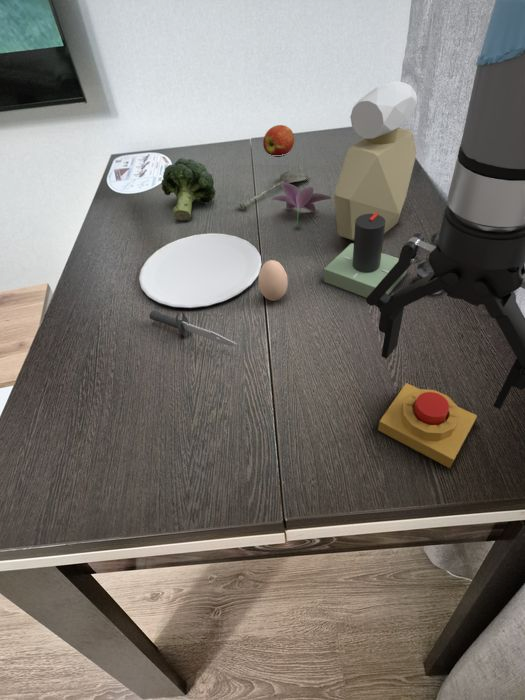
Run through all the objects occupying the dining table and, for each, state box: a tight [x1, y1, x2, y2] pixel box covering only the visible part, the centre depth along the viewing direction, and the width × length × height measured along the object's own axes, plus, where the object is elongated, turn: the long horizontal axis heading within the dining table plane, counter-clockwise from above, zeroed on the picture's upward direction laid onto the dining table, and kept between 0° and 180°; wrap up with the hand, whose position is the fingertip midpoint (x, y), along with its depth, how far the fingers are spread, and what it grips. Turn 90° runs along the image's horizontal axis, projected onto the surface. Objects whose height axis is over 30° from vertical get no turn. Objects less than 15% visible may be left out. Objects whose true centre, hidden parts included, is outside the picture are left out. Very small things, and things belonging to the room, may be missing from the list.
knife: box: [148, 310, 239, 346], centre depth 74 cm, size 19×2×5 cm, turn 58°
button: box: [414, 392, 449, 425], centre depth 56 cm, size 4×4×2 cm
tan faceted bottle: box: [333, 80, 418, 242], centre depth 84 cm, size 12×24×28 cm, turn 137°
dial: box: [352, 213, 385, 273], centre depth 78 cm, size 5×5×9 cm
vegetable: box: [161, 157, 216, 222], centre depth 105 cm, size 12×13×15 cm
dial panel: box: [323, 242, 408, 299], centre depth 82 cm, size 12×10×3 cm
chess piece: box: [414, 230, 444, 296], centre depth 76 cm, size 6×6×12 cm
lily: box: [271, 181, 332, 229], centre depth 97 cm, size 12×12×10 cm
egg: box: [257, 259, 289, 302], centre depth 78 cm, size 5×5×8 cm
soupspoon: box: [238, 170, 308, 211], centre depth 109 cm, size 22×3×7 cm
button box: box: [377, 382, 478, 469], centre depth 58 cm, size 10×8×4 cm
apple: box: [262, 124, 295, 158], centre depth 122 cm, size 8×8×8 cm
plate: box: [138, 232, 263, 309], centre depth 89 cm, size 25×25×1 cm
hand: (441, 374), depth 52 cm, fingers open, 13 cm apart
